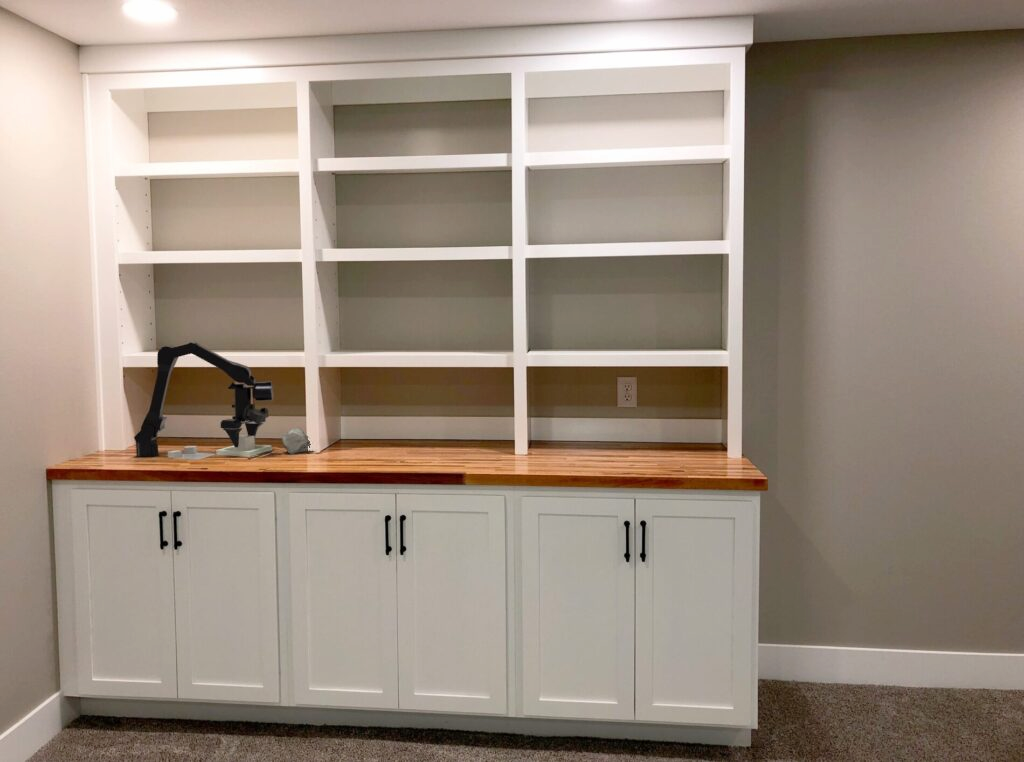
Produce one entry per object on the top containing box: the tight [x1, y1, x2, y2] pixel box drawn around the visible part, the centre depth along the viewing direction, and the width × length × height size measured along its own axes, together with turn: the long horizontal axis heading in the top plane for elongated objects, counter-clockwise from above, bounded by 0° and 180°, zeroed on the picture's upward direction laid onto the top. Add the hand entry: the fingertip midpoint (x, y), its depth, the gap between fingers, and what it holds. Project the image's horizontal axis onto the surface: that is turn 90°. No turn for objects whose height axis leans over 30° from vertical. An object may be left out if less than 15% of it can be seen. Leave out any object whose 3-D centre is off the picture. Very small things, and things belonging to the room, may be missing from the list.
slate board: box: [167, 445, 216, 461], centre depth 292 cm, size 13×12×3 cm
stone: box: [281, 427, 311, 455], centre depth 302 cm, size 10×10×10 cm
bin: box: [215, 444, 273, 460], centre depth 298 cm, size 14×14×2 cm
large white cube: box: [233, 434, 256, 451], centre depth 298 cm, size 5×5×6 cm
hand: (244, 445), depth 298 cm, fingers open, 9 cm apart
